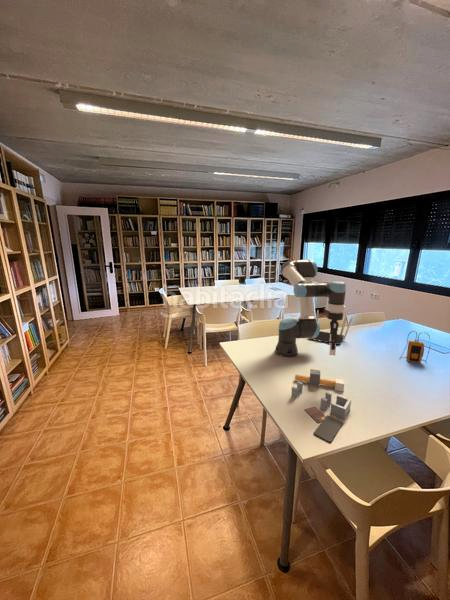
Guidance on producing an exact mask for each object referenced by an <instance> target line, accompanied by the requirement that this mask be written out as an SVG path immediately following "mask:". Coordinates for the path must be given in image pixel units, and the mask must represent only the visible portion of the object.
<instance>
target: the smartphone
mask: <svg viewBox="0 0 450 600" xmlns="http://www.w3.org/2000/svg"><path fill="white" fill-rule="evenodd" d="M343 425H344V422H343V421H342V420H339V419H337V418H336V417H335V418H334V417H332V416H331V415H329V414H328V415H326V416H325V417H324V419H323V420H322V421H321V422H320V424H319V425H318V427H316V429H315V430H314V432H313V433H312V434H313V436H315V437H317V438H319V439H320V440H323V441H325V442H326V443H329V444H331V443H332V442H333V441H334V439H335V438H336V436H337V435H338V433H339V431H340V429H341V428H342V427H343Z"/></svg>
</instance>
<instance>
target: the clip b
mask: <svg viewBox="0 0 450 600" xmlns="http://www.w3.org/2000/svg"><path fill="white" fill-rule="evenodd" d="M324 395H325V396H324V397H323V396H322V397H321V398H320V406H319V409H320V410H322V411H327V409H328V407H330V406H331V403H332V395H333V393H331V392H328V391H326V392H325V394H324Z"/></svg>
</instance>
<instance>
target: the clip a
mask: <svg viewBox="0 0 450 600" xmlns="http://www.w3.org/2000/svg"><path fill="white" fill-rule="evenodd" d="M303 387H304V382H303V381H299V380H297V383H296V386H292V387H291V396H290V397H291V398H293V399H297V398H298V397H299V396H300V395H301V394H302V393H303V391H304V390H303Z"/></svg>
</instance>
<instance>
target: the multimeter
mask: <svg viewBox="0 0 450 600" xmlns="http://www.w3.org/2000/svg"><path fill="white" fill-rule="evenodd" d="M413 332H414V333H416V337H415V340H409V338H407V340H406V341H407V342H406V346H405V347H404V349H403V351H402V354H401V356H400V357H399V359H401V357H403V355H404V353H405V350H407V351H406V356H404V357H405V360H406V361H407V362H413V363H418V364H421V363H422V361H424V362H426V361H427V360H428V356H429V353H430V349H431V346H429V347H428V348H429V349H428V353H427V356H426V359H425V360H424V359H423V356H424V353H425V352H424V351H425V343H424V342H422V341H419V339H420V338H419V336H420V335H421V334H422V332H421V333H419V334H418V332H417V331H415V330H413V331H410V332H409V333H408V335H407V337H409V335H410V334H411V333H413ZM417 335H418V336H417ZM425 335H428V338H429V339H431V338H430V334H428V332H425ZM406 348H407V349H406Z"/></svg>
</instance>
